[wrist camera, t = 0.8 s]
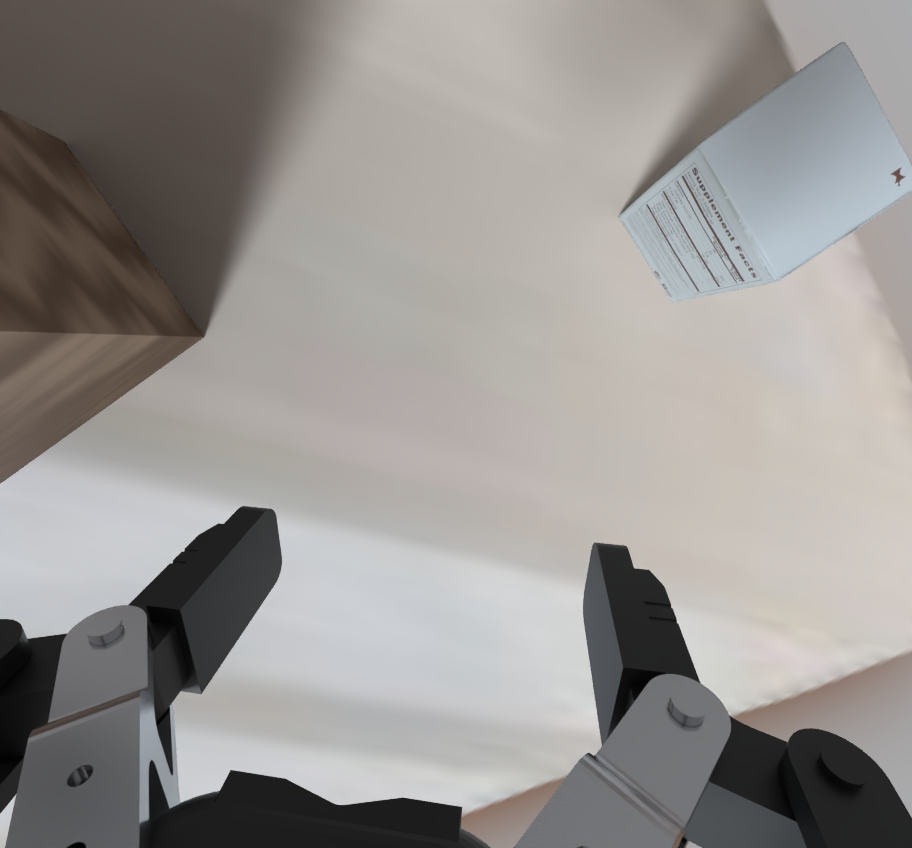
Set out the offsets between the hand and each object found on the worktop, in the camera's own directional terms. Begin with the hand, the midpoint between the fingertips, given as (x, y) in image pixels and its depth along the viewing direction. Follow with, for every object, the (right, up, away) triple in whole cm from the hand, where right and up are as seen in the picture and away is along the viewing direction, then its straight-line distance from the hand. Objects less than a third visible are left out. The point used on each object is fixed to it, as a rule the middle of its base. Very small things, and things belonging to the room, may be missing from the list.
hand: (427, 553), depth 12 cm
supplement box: (+17, +17, +22) cm, 32 cm away
